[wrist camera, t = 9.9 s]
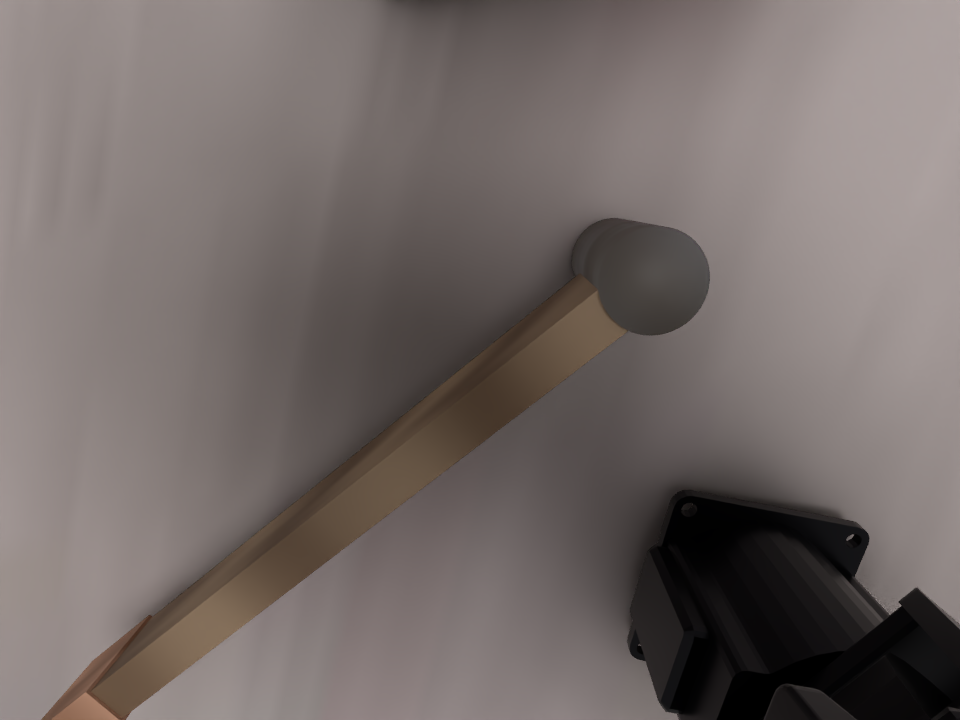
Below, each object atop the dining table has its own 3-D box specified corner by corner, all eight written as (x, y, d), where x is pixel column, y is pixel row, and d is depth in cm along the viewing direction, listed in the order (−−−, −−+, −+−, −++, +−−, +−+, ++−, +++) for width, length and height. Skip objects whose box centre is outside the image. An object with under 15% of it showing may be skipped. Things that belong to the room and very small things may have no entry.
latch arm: (620, 201, 17) (667, 202, 12) (667, 264, 18) (731, 289, 13) (111, 618, 22) (2, 737, 17) (160, 660, 22) (66, 788, 17)
